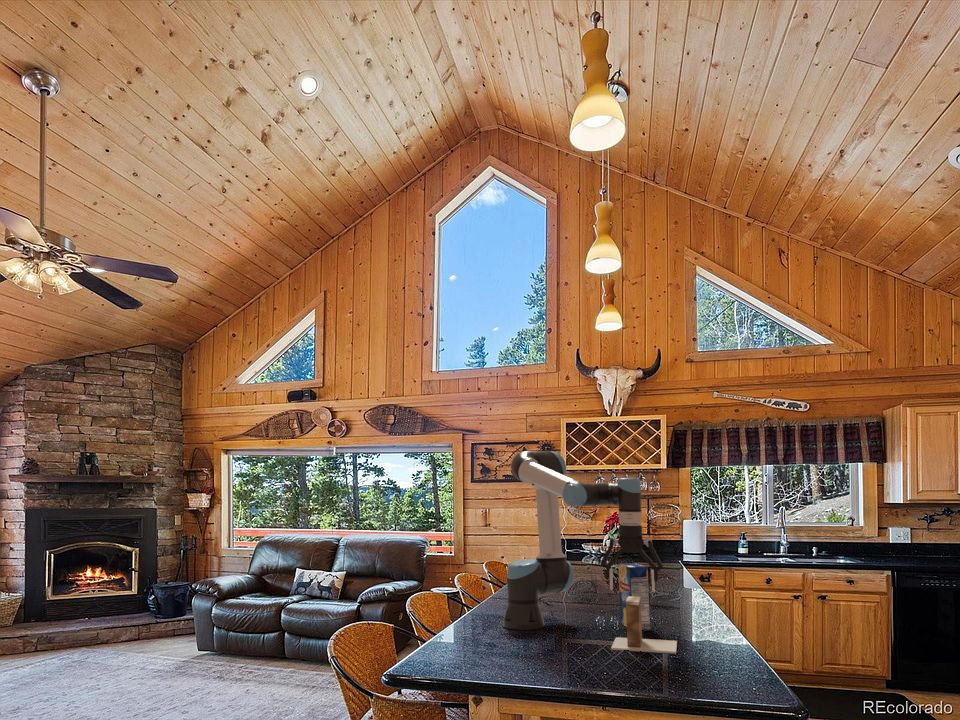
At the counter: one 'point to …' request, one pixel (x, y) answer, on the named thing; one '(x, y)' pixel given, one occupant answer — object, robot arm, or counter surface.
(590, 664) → the counter surface
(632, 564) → the beverage box
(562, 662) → the counter surface
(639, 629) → the beige rectangular box
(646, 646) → the felt mat
